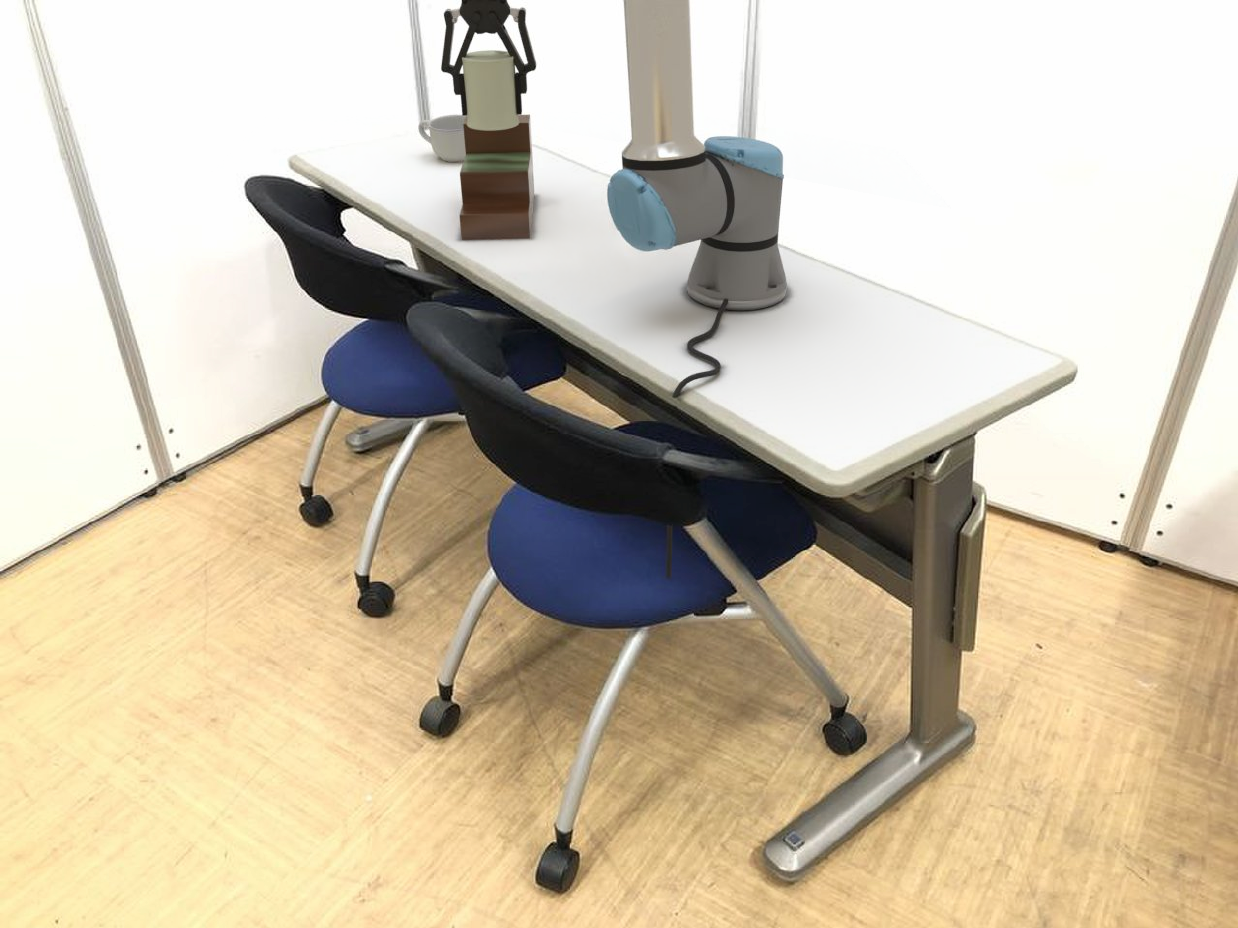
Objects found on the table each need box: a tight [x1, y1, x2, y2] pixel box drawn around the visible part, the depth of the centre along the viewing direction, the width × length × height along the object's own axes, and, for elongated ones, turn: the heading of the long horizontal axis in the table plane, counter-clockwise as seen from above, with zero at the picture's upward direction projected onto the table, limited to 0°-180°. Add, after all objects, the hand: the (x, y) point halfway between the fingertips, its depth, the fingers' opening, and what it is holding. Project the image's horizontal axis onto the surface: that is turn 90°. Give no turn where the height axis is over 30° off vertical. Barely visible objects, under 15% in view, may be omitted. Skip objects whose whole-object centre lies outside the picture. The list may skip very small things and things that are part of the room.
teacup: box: [418, 114, 466, 163], centre depth 225 cm, size 14×11×8 cm
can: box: [462, 49, 519, 131], centre depth 182 cm, size 9×9×12 cm
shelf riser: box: [459, 114, 535, 241], centre depth 190 cm, size 24×12×16 cm, turn 2°
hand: (492, 113), depth 184 cm, fingers closed on can, 9 cm apart
